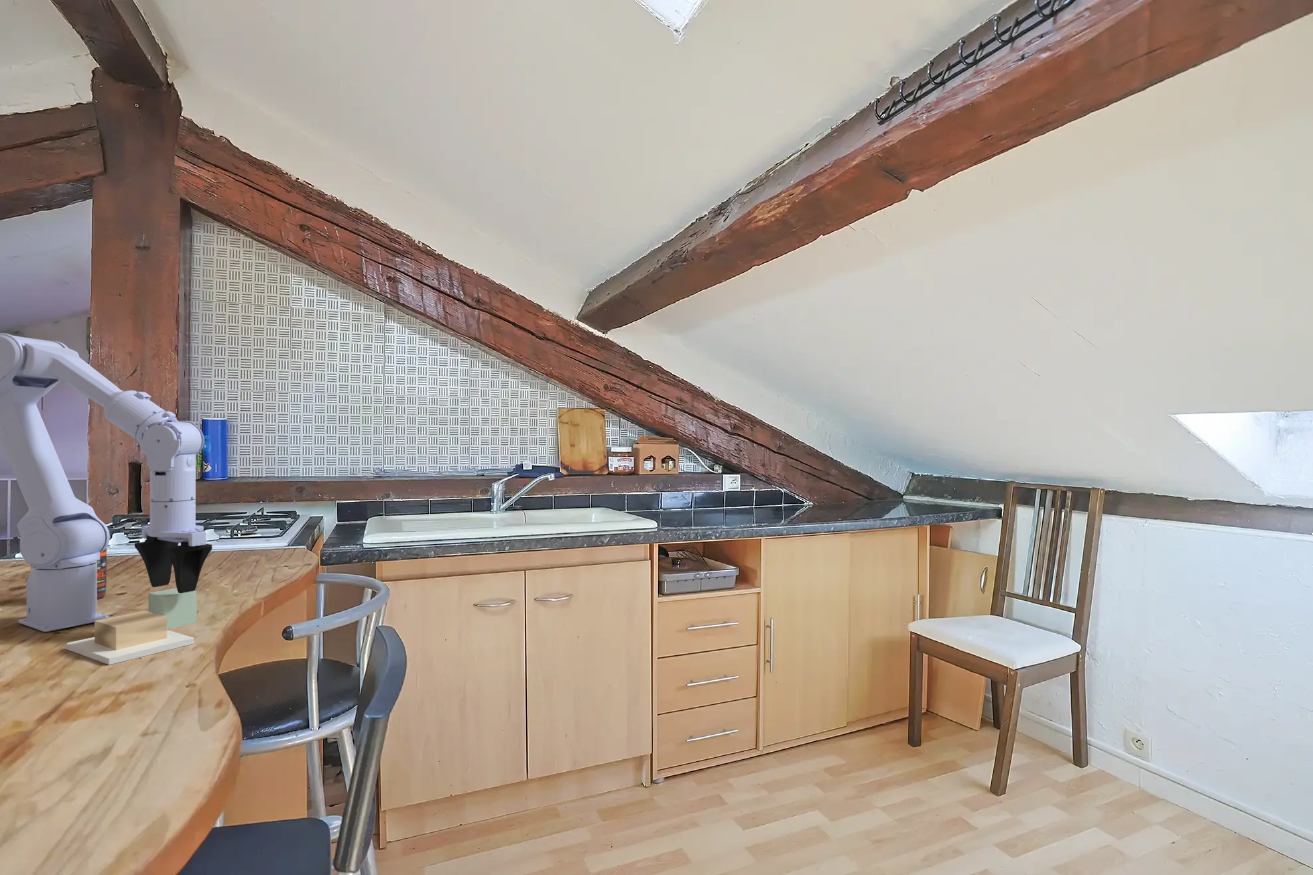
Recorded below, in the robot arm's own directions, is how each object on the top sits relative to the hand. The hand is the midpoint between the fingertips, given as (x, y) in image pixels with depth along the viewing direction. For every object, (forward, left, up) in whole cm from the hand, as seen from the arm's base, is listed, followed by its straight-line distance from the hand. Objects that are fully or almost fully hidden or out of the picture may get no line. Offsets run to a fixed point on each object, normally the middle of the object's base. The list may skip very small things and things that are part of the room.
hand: (173, 588), depth 104 cm
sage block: (0, 0, -5) cm, 5 cm away
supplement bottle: (-29, 0, -6) cm, 30 cm away
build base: (+7, -9, -5) cm, 12 cm away
